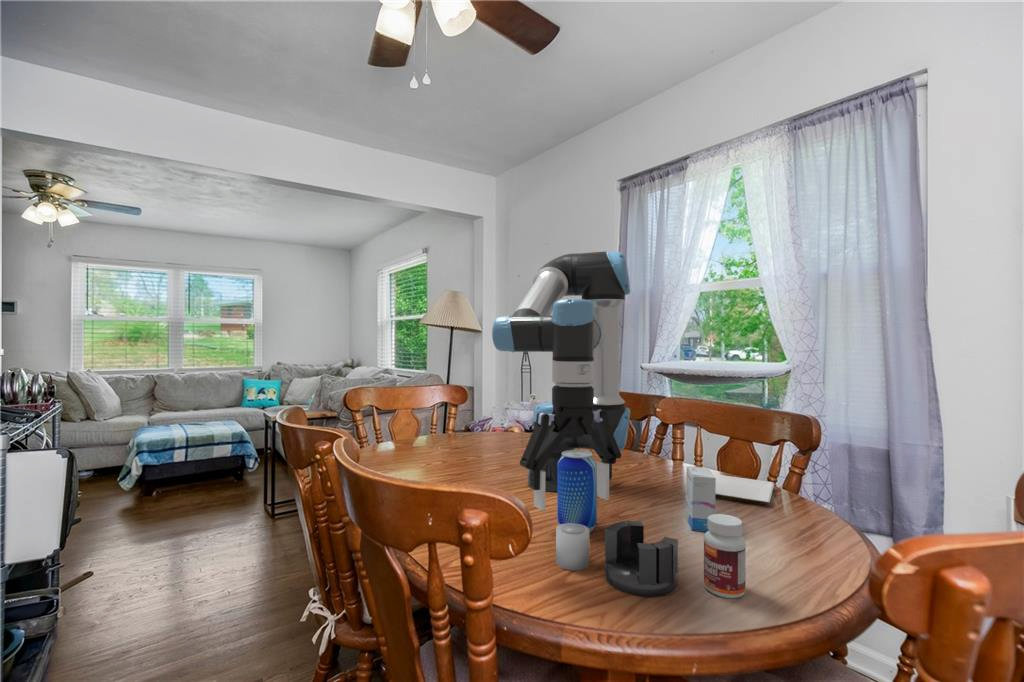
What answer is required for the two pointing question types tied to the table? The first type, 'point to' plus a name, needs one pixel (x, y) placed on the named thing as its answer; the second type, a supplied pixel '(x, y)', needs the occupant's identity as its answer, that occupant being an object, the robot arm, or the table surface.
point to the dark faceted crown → (639, 561)
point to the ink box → (699, 497)
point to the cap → (572, 546)
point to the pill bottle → (724, 556)
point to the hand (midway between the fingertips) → (572, 502)
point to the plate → (743, 489)
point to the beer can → (577, 489)
